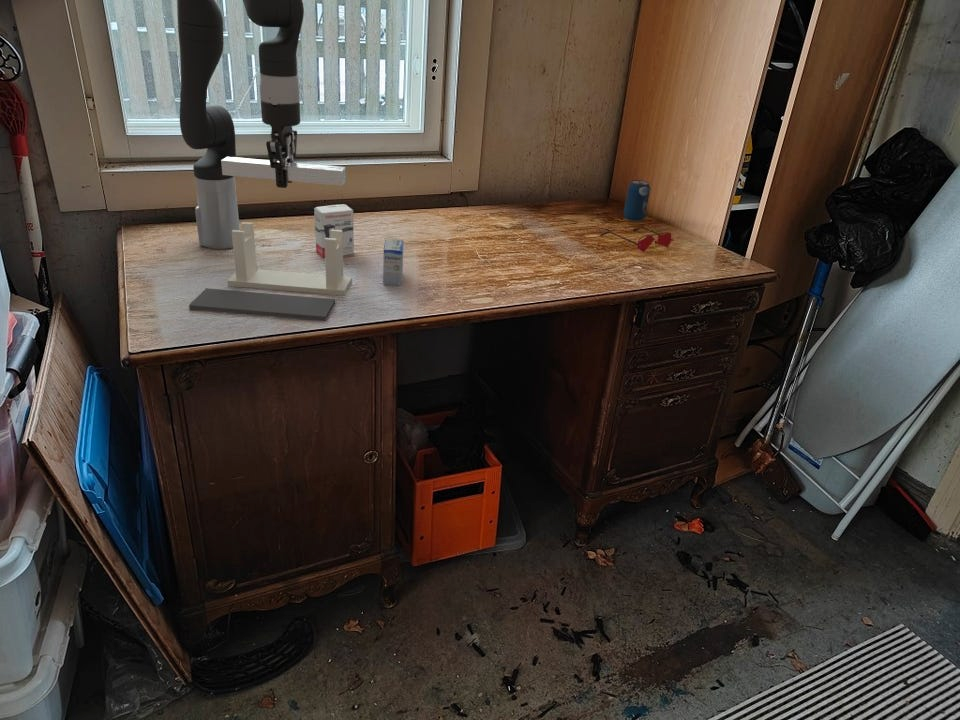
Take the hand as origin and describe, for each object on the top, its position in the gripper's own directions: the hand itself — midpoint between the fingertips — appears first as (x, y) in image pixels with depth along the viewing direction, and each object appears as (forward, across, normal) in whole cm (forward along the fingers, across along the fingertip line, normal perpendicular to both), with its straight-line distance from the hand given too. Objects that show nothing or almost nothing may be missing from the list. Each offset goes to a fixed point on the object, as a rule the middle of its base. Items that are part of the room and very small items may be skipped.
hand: (284, 184), depth 145 cm
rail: (-1, 0, 0) cm, 1 cm away
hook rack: (+23, 0, 0) cm, 23 cm away
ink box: (+23, -22, +5) cm, 32 cm away
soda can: (+23, -76, +90) cm, 120 cm away
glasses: (+23, -53, +87) cm, 104 cm away
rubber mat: (+23, +13, -2) cm, 26 cm away
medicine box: (+23, -8, +22) cm, 33 cm away
